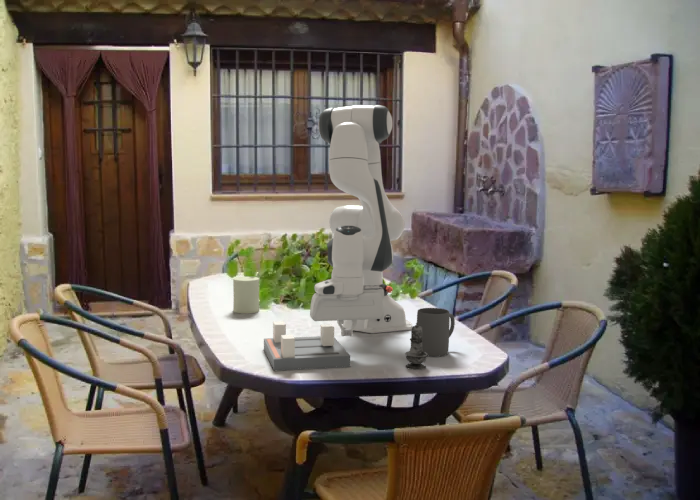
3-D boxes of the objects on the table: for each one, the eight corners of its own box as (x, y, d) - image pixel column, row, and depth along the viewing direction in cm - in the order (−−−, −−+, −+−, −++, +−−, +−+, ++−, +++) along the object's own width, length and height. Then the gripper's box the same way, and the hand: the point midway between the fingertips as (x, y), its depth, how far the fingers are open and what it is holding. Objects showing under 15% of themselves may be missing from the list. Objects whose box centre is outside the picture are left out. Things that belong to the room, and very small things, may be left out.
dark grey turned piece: (403, 364, 200) (404, 319, 198) (424, 363, 200) (426, 319, 199) (406, 370, 194) (407, 324, 192) (429, 370, 194) (430, 324, 193)
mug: (433, 358, 205) (434, 315, 204) (409, 352, 212) (410, 310, 210) (465, 350, 214) (466, 309, 213) (441, 344, 221) (442, 304, 219)
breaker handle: (331, 342, 207) (331, 324, 207) (334, 345, 204) (334, 327, 203) (320, 342, 207) (320, 324, 206) (323, 346, 203) (323, 328, 202)
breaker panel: (332, 345, 217) (333, 318, 216) (350, 366, 196) (350, 336, 195) (263, 348, 213) (263, 321, 212) (273, 370, 191) (273, 340, 190)
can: (264, 310, 265) (264, 276, 264) (247, 314, 257) (247, 280, 256) (244, 307, 270) (244, 274, 269) (227, 311, 262) (227, 277, 261)
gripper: (381, 283, 210) (380, 331, 212) (309, 284, 205) (308, 334, 207) (387, 287, 204) (386, 336, 205) (313, 288, 199) (312, 339, 201)
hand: (346, 335), depth 206 cm, fingers closed
